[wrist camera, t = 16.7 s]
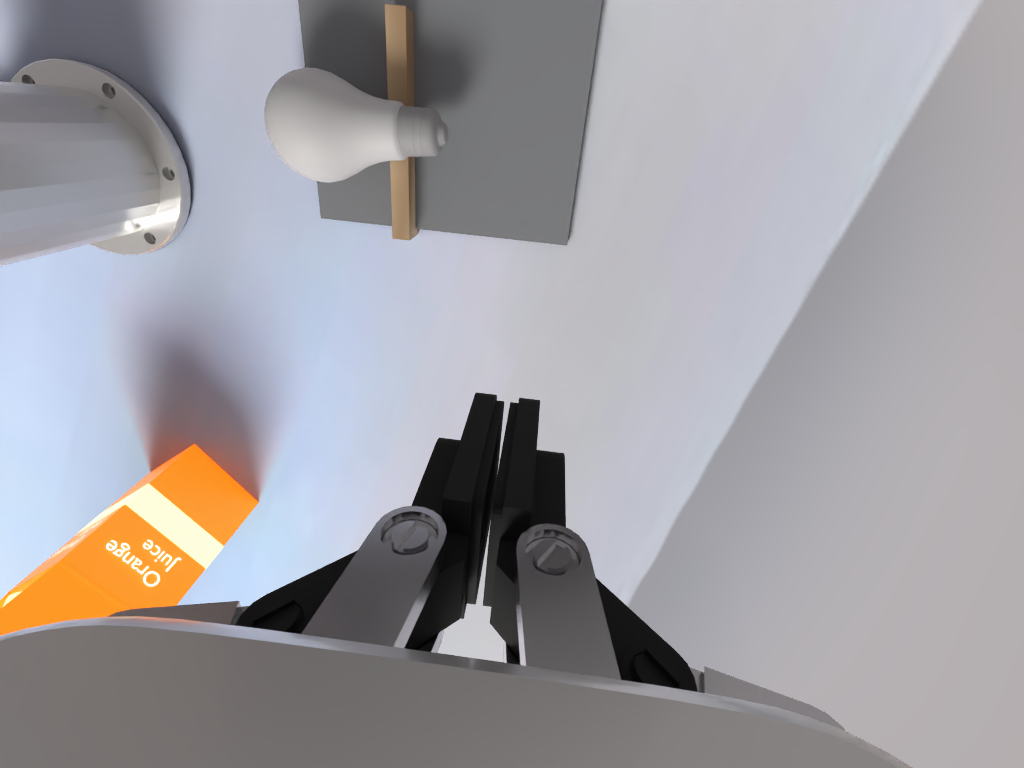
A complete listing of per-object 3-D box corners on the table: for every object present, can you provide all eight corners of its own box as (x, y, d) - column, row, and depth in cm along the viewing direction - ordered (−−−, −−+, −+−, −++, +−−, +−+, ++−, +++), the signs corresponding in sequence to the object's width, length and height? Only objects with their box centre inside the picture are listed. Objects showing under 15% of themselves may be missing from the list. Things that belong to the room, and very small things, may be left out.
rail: (401, 232, 35) (392, 238, 33) (396, 12, 29) (384, 4, 27) (417, 233, 35) (409, 240, 33) (415, 14, 28) (405, 5, 27)
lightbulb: (443, 43, 26) (254, 39, 27) (426, 141, 24) (229, 132, 25) (464, 127, 31) (309, 120, 33) (451, 209, 30) (290, 199, 31)
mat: (324, 216, 35) (320, 218, 34) (299, -29, 28) (294, -32, 27) (567, 243, 34) (567, 245, 34) (602, -1, 27) (602, -3, 27)
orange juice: (194, 442, 47) (-24, 632, 29) (260, 502, 50) (98, 705, 32) (148, 472, 49) (-78, 663, 32) (213, 527, 52) (40, 728, 35)
